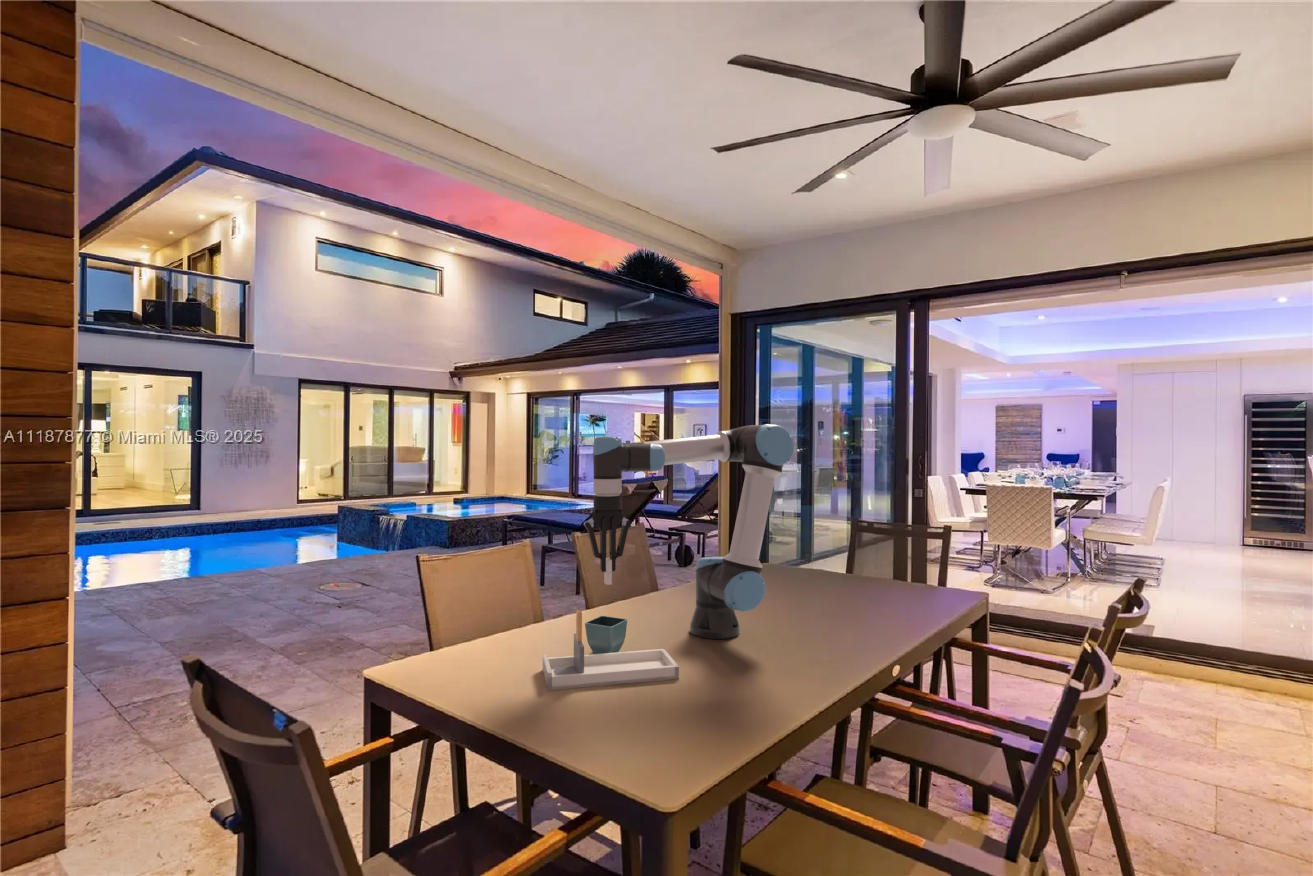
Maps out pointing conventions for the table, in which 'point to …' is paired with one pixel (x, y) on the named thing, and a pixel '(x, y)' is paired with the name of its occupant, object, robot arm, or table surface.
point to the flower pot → (606, 634)
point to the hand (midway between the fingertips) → (608, 583)
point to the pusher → (575, 651)
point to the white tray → (611, 669)
